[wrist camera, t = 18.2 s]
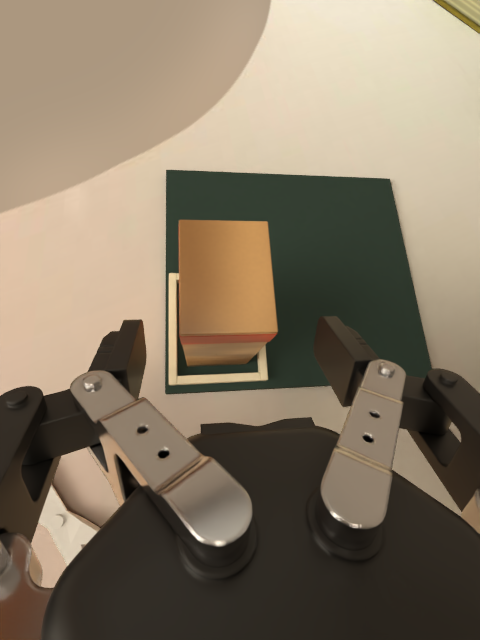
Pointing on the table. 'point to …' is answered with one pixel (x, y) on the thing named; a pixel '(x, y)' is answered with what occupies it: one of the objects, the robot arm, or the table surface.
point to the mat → (302, 273)
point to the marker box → (225, 291)
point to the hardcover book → (464, 11)
